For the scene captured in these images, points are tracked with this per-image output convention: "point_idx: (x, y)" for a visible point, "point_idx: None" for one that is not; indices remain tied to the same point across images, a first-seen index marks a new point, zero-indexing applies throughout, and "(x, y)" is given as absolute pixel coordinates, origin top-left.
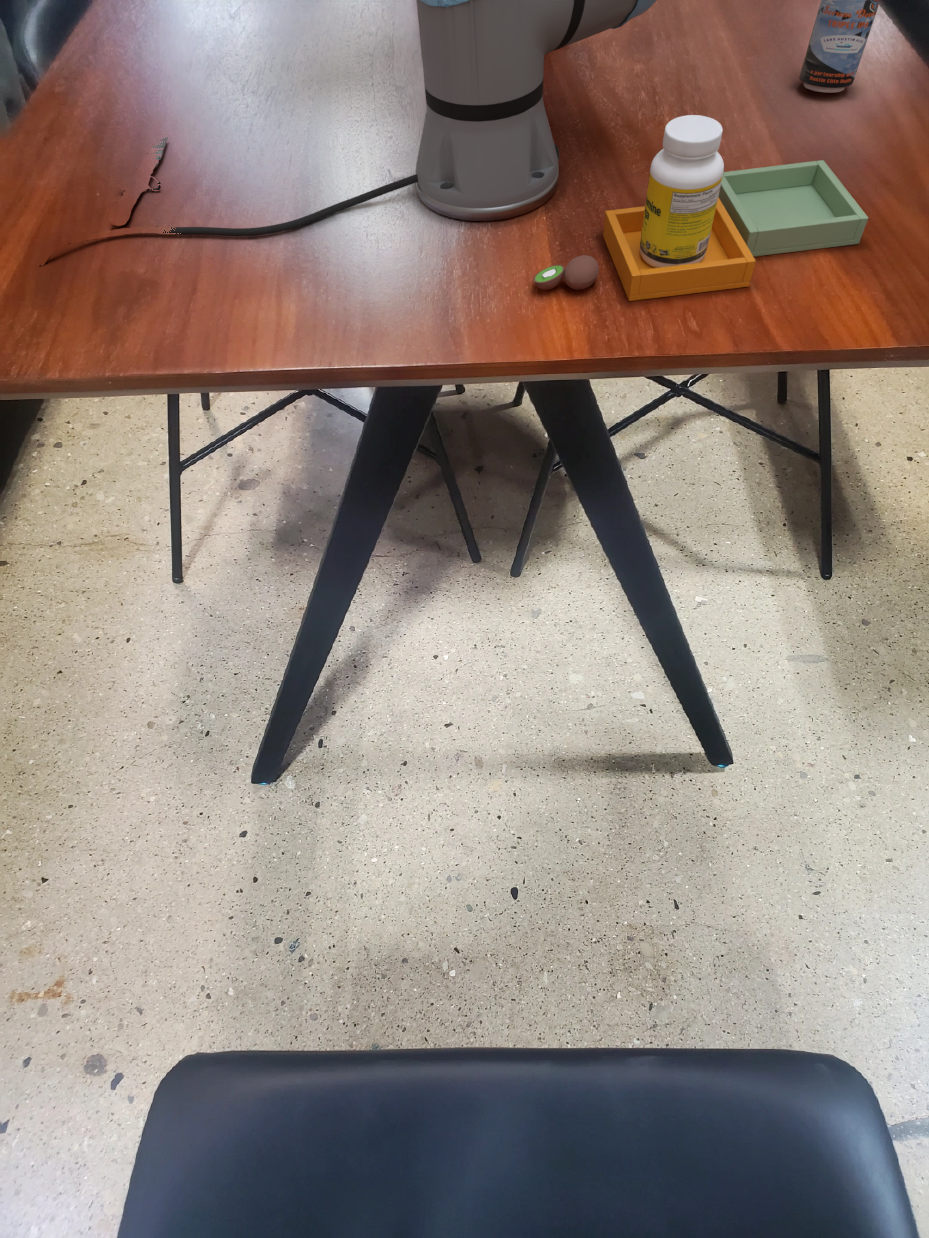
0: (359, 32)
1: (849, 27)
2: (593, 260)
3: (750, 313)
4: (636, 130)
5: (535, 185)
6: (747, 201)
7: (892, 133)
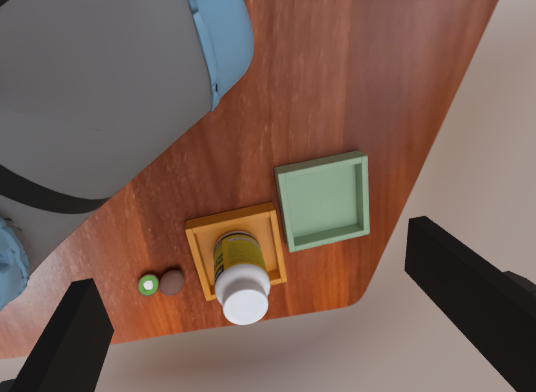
0: None
1: None
2: (179, 285)
3: (279, 292)
4: None
5: (117, 192)
6: (301, 180)
7: (450, 60)
